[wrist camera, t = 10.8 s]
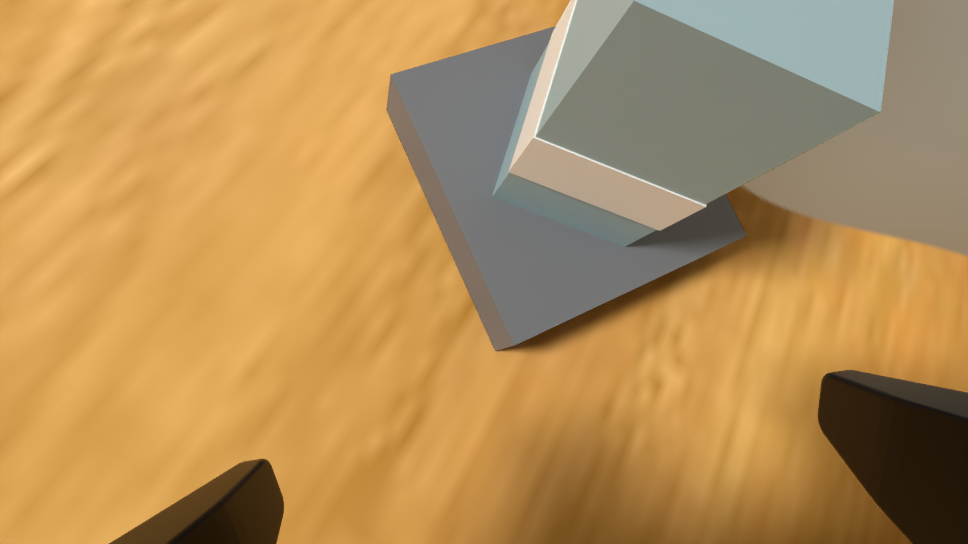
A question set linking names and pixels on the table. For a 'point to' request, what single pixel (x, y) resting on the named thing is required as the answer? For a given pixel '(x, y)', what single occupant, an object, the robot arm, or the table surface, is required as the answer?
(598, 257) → the podium
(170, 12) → the table surface
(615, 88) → the carton
